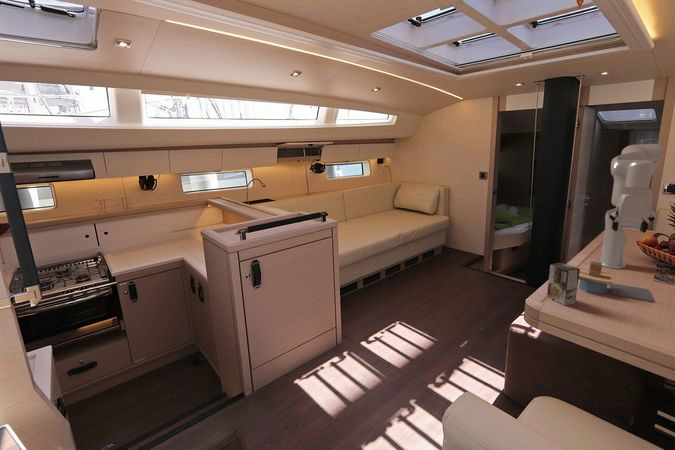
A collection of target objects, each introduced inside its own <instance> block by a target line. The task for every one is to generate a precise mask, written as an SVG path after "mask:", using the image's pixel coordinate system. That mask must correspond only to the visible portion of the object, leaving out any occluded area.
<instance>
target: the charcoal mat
mask: <svg viewBox="0 0 675 450" xmlns="http://www.w3.org/2000/svg"><path fill="white" fill-rule="evenodd" d="M608 286H609V290H610V294H611V296H616V297H622V298H625V299H626V298H627V299H633V300H639V301H643V302H644V301H645V302H648V303H649V302H650V303H654V302H655V301H654V298H653V297H652V294H651V293H650V291H649V288H643V287H637V286H636V287H635V286H631V285H623V284H618V283H613V282H612V285H610V284H608Z"/></svg>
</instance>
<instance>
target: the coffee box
mask: <svg viewBox="0 0 675 450" xmlns="http://www.w3.org/2000/svg"><path fill="white" fill-rule="evenodd" d="M580 269H581V268H579V267H578V268H577V267H575V266H573V265H570V264H567V263H564V262H556V263H552V264H551V263H550V266H549V275H548V285H547V293H546V297H547V296H548V297H549V298H548V297H547V298H548V299H550V298H551V299H550V300H552V299H554V300H555V302H556V301H557V302H556V303H558V302H559V303H558V304H560V303H561V304H560V305H562V304H563V305H562V306H569V305H574V304H575V303H576V300H577V292H578V287H579V272H580ZM554 300H553V301H554Z"/></svg>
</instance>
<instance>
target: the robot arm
mask: <svg viewBox="0 0 675 450" xmlns="http://www.w3.org/2000/svg"><path fill="white" fill-rule="evenodd" d="M663 153H664V152H663V148H662V146H661V145H660V144H658V143H655V144H654V143H651V144H649V143H648V144H645V143H644V144H643V143H641V144H639V143H638V144H631V145H628V146H626V147H624V148H623V149H622V151H621V153H620V155H617V156H615V157H614V158H612V159H611V162H610V174H611V176H612V177H613V188H612V195H611V204H612V205H613V207H615V208H612V209H609V210H606V213H605V216H604V220H605V223H604V224H605V226H604V233H603V234H604V236H603V242H602V248H601V254H600V259H599V258H598V259H597V260H596V262H601V263H602V267H604V268H609V269H618V270H619V269H622V270H623V269H625V268H627V267H626V266H627V265H626V263H624V262H623V261H624V256H625V251H626V245H627V240H628V234H627V233H626V231H625V230H624V228H625V229H627V228H628V229H637V230H639V231H640V232H642V233H646V232H647V230H648V229H649V228H648V227H649V224H650V223H651V222H653V221H654V220H656V218H657V217H658V215H659V212H657V211H656V210H655V211H654V210H653V209H652V203H653V194H652V193H653V189H652V188H650V185H651V184H650V183H651V178H652V176H653V175H654V174H655V173H656V172H655V171H656V170H657V167H658V166H659V163H660V162H661V160H662V158H663Z"/></svg>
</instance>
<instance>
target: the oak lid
mask: <svg viewBox="0 0 675 450" xmlns="http://www.w3.org/2000/svg"><path fill="white" fill-rule="evenodd" d="M602 267H603V266H602V263H601V262H597V261H592V260H590V262H589V269H585V268H584V269H583V268H579V269H580V272H579V279H578V281H580V280H585V281H592V282H598V283H604V284H607V285H609V284H610V285H612V283H613V281H612V277H611V274H610V272H604V271H602Z"/></svg>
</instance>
